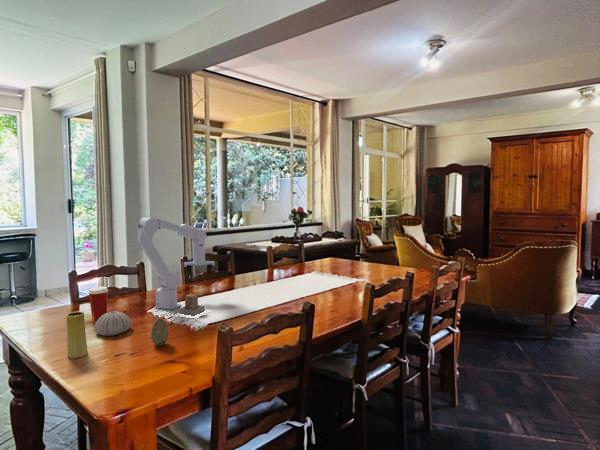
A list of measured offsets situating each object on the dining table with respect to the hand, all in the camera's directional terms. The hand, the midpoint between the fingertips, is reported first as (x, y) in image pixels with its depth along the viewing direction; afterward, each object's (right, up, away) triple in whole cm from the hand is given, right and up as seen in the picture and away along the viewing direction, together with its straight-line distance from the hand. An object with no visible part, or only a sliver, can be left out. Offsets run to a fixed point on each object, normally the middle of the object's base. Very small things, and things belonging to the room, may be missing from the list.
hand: (199, 280), depth 203 cm
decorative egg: (0, -16, -57) cm, 59 cm away
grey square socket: (+1, -13, -20) cm, 23 cm away
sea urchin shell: (-24, -15, -42) cm, 51 cm away
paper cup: (-36, -14, -29) cm, 48 cm away
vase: (-25, -17, -65) cm, 72 cm away
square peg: (+1, -12, -20) cm, 23 cm away
